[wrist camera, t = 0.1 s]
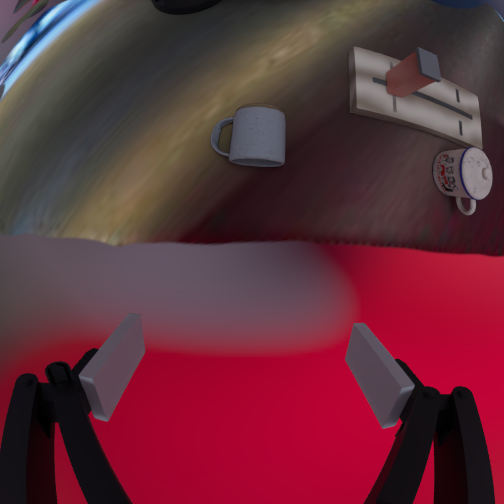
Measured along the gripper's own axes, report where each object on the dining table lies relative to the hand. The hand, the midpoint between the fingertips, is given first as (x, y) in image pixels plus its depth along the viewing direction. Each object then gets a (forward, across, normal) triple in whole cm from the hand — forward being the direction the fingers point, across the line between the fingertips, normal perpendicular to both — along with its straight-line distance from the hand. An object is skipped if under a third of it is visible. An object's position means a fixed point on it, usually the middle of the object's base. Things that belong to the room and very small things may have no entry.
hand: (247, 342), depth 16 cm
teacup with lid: (+28, +38, +15) cm, 49 cm away
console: (+28, +31, +29) cm, 51 cm away
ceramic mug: (+28, 0, +16) cm, 33 cm away
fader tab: (+25, +23, +29) cm, 44 cm away
